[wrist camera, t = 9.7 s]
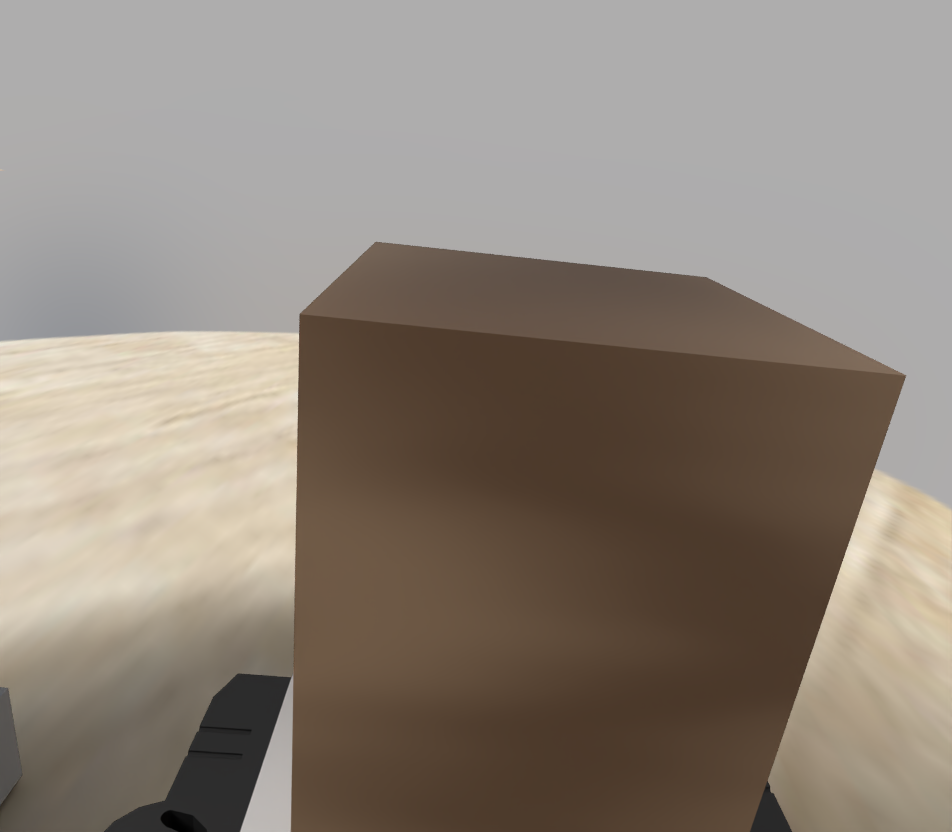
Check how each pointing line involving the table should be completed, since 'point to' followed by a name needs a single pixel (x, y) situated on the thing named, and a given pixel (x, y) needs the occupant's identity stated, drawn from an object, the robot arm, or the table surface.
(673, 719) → the wooden post on rail
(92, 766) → the table surface
